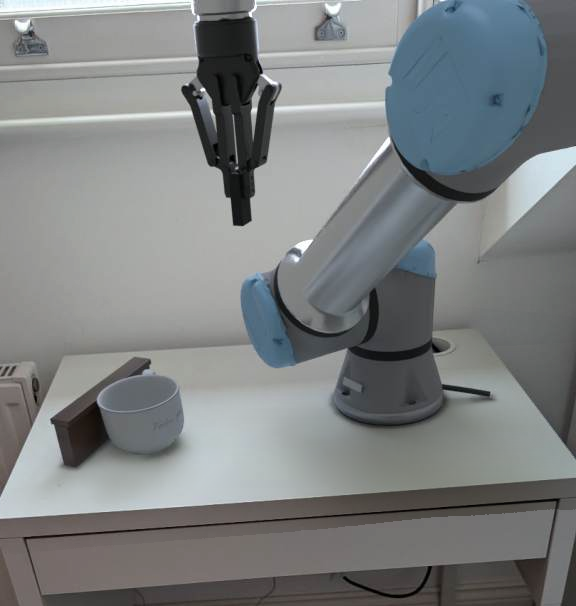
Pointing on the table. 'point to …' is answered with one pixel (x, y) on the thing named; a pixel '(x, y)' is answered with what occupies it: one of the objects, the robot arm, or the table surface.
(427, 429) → the table surface
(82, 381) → the table surface
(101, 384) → the back rail
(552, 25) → the robot arm
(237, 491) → the table surface
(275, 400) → the table surface
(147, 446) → the teacup
